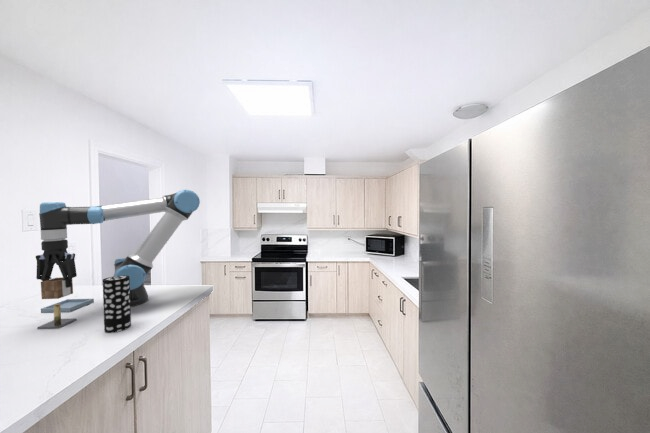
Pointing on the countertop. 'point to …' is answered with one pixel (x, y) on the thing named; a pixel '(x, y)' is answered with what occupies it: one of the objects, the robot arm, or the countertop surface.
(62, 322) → the brass post base plate
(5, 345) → the countertop surface
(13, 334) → the countertop surface
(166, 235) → the robot arm
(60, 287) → the walnut block
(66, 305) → the tray
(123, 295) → the white-spotted black cylinder
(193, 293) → the countertop surface
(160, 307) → the countertop surface
